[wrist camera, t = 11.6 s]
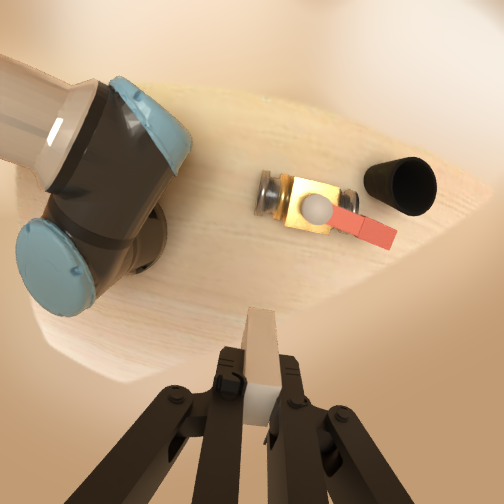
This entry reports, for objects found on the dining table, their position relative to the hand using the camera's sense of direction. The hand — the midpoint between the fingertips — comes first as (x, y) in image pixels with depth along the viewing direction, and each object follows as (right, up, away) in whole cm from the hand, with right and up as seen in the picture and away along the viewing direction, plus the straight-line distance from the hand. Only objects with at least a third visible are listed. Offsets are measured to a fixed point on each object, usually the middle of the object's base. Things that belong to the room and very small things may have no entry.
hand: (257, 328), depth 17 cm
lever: (+12, +9, +18) cm, 23 cm away
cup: (+20, +16, +26) cm, 37 cm away
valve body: (+8, +13, +27) cm, 31 cm away
